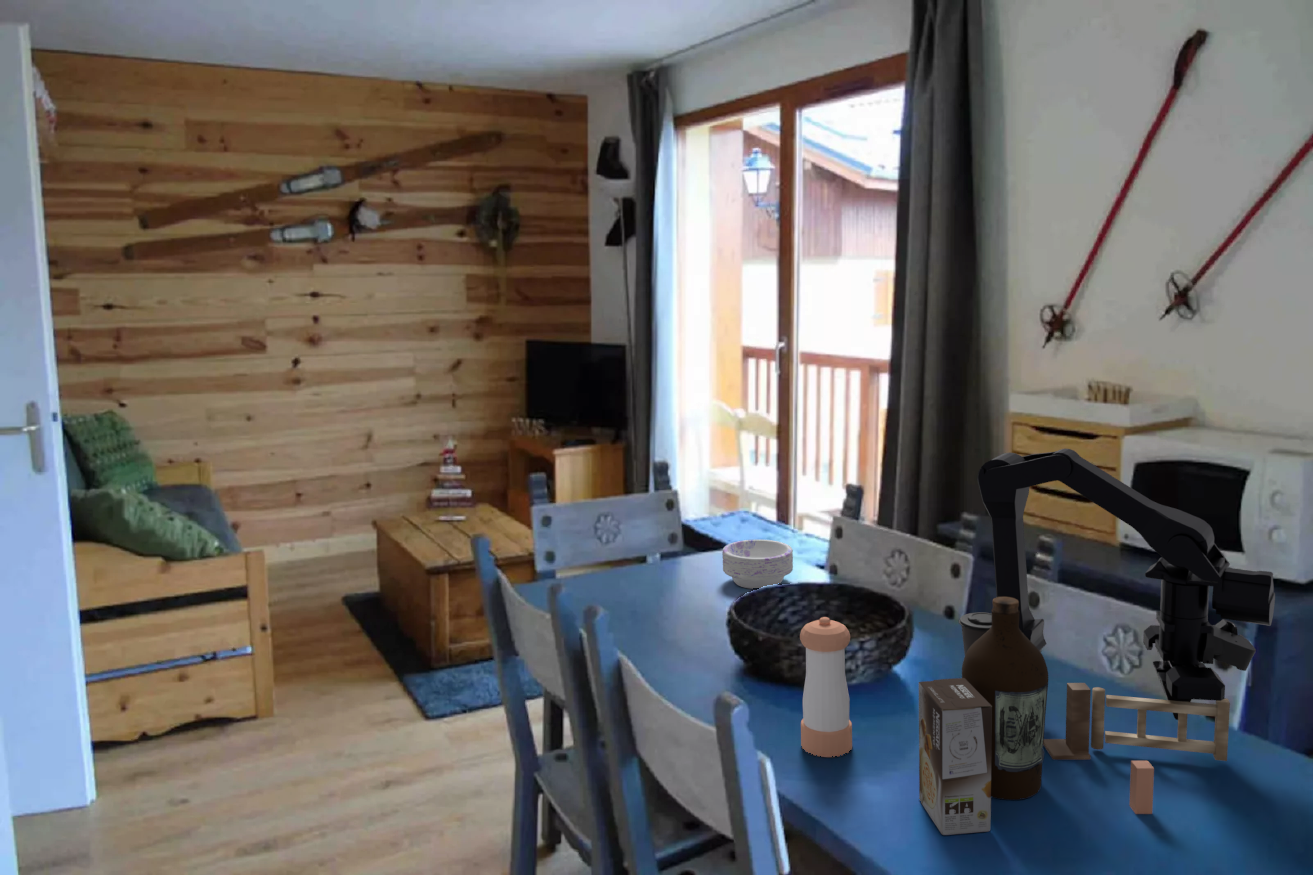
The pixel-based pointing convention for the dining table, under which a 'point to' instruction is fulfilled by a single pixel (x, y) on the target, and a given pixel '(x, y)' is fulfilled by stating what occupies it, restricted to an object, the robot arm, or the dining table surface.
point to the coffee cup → (974, 627)
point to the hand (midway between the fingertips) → (1179, 719)
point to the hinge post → (1073, 726)
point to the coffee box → (955, 755)
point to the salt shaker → (825, 690)
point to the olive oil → (1011, 700)
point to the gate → (1143, 740)
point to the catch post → (1141, 787)
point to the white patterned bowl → (757, 562)
